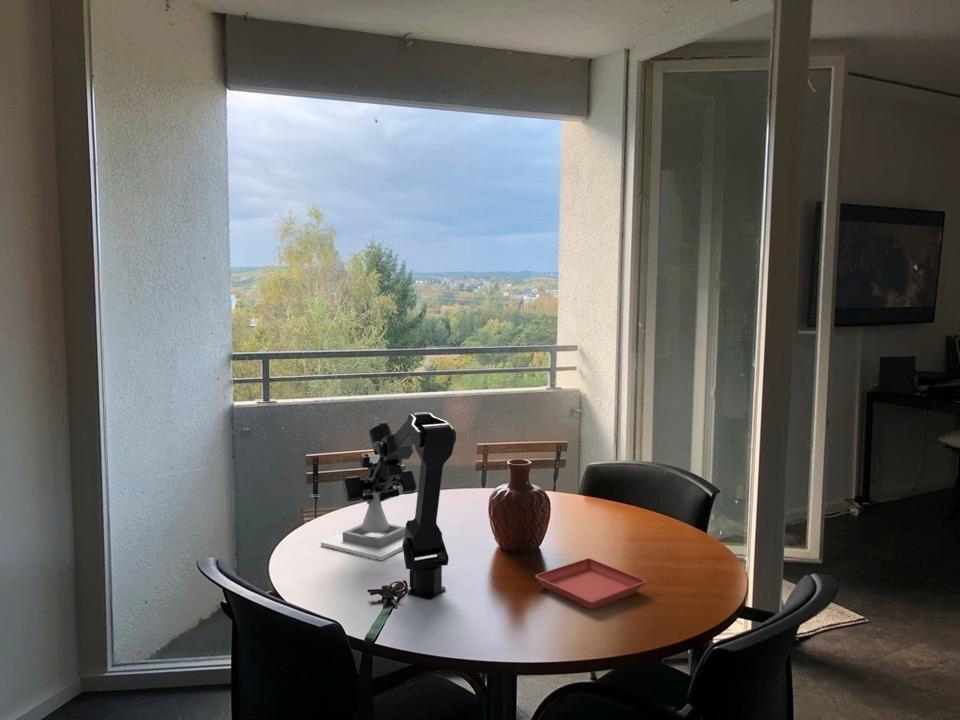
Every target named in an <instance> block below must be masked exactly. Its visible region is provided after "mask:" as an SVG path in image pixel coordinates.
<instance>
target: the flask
mask: <svg viewBox="0 0 960 720" xmlns="http://www.w3.org/2000/svg"><path fill="white" fill-rule="evenodd" d="M380 495H381V493H375V492H373V498H374V499H373V500H372V501H371V502H370V503H369V504H368V508H367V510H366V513H365V516H364V518H363V522H362V523H361V524H362V526H361V529H362V530H364V531H366V532H373V533H376V532H381V531H385V530H387V529H388V528H390V527H389V524H390V523H389V521H388V519H387V517H386V515H385V512H384V509H383V506H382V502H381V501H380Z"/></svg>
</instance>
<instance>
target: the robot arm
mask: <svg viewBox="0 0 960 720" xmlns="http://www.w3.org/2000/svg"><path fill="white" fill-rule="evenodd" d="M392 432H393V431H392V429H391V426H389V424H388V422H380V423H379V424H378V425H377V426H374V427H372V428H371V429H369V431H368V435H369V439H370V442H371V446H372V449H373V451H372V452H371V451H370V452H367V453H362V454H361V455H360V457H359V464H360V466H361V468H362V469H363V468H365V469H368V472H367V475H368V479H367V478H366V479H361V477H360V476H359V475H353V476H345V477H344V479H343V481H342V487H343V491H344V497H345V499H346V501H347V502H349V503H350V502H358V501H361V500H362V501H364V502H365V501H366V504H367V505H369V503H370V502H371V501H372V500H373V499H374V498H373V492H375V493H381V495H380V501H381V503H382V502H385V501H387V500H390V499H393V498H395V497H396V498H397V497H400V491H399V490H400V489H399V488H400V486H401V487H402V494H403V495H410V494H415V493H416V491H417V497H416V503H415V505H416V507H415V516H414V519H409V520H407V521H406V523H405V527H406V531H405V535H404V536H405V538H404V540H403V545H402V548H403V550H402V551H403V552H402V553H403V559H404V560H403V561H404V564H405V569H406V570H409V589H407V590H406V594H408V595H412V596H415V597H420V598H423V599H426V600H432V599H433V598H435V597H437V596H439V595H440V594H442V592H445V591H446V589H447V588H446V586H443V579H442V578H443V576H442V575H443V572H442V570H443V569H442V568H443V566H448V565H449V561H450V560H449V558H450V557H449V554H448V552H447V551H448V550H447V549H446V545H445V542H444V539H443V533H442V530H441V529H440V527H439V525H438V524H437V520H438V519H437V518H438V514H439V513H438V512H439V503H440V495H441V494H440V493H441V488H442V480H443V479H442V477H443V470H444V466H445V464H446V463H447V462H448V460H449V459H450V457H452V455H453V452H454V447H455V443H456V441H457V432H456V430H455V428H454V427H453V426H452V425H451V424H450V423H449V422H448V421H447V420H445V419H441V418H439V417H438V416H437V417H436V416H434V414H433V413H431V412H429V411H422V412H411V413H409V414H408V415H407V419H406V420H405V422H404V423H403V424H402V425H401V426H400V428H399V429H398V430H397V431H396V432H395V433H392ZM414 449H415V451H416V452H417V455H418V456H419V459H420V468H419V469H420V470H419V478H418V479H419V480H418V484H417V482H416V481H417V480H416V477H415V475H414V474H415V473H414V472H413V471H412V469H404V470H403V468H402V465H403V461H404V460H409V459H410V458H411V456H412V455H413V453H414ZM398 477H399V478H398ZM435 555H436V556H435ZM428 556H430V557H428ZM423 557H426V558H423ZM417 558H420V559H417Z"/></svg>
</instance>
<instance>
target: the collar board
mask: <svg viewBox="0 0 960 720" xmlns="http://www.w3.org/2000/svg"><path fill="white" fill-rule="evenodd" d="M388 524H389V527H390V528H388V529H387V530H385V531H381V532H376V533H373V532H366V531H364V530H362V529H361V526H362V523H360V524H358V525H356V526H354V527H352V528H349V529H347V530H344V531H343V532H341V533H339V534H337V535H334V536H332V537H329V538H327V539H325V540H323V541H321V542H320V546H321V547H323V546H324V548H327V547H329V549H331V548H334V549H333V550H336V549H338V550H337V551H340V550H342V551H341V552H344V551H347V552H346V553H348V552H351V553H350V554H352V553H355V554H354V555H356V554H359V555H358V556H360V555H362V556H361V557H364V556H366V557H365V558H368V557H370V558H369V559H372V558H374V559H373V560H376V559H378V560H377V561H380V560H382V561H384V560H386V559H388V558H390V557H391V555H392V556H394V555H396V554H398V553H399V552H402V551H403V548H402V545H403V540H404V538H405V536H404V535H405V531H406V526H401V525H396V524H391V523H388ZM397 552H398V553H397ZM395 553H396V554H395ZM393 554H394V555H393ZM389 556H390V557H389ZM387 557H388V558H387ZM385 558H386V559H385ZM383 559H384V560H383Z"/></svg>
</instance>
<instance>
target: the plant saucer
mask: <svg viewBox="0 0 960 720" xmlns="http://www.w3.org/2000/svg"><path fill="white" fill-rule="evenodd" d="M534 577H535V579H537V580H538V582H539V583H540V584H541V585H542V586H543V587H544V588H545V589H546V590H549V591H550V592H553V593H555V594H557V595H559V596H561V597H563V598H565V599H567V600H570V601H571V602H573V603H575V604H578V605H580V606H582V607H583V608H586V609H588V610H595V609H597V608H600V607H602V606H604V605H607V604H611V603H614V602H615V601H617V600H620V599H623V598H625V597H628V596H631V595H633V594H635V593H636V592H638V590H640V589H641V588H642V587H643V586H644V585H645V584H646V582H647V581H646V579H643V578H640V577H638V576H635V575H633V574H631V573H628V572H626V571H623V570H621V569H618V568H616V567H613V566H611V565H608V564H606V563H603V562H601V561H599V560H595V559H594V558H591V557H589V558H584V559H581V560H578V561H575V562H571V563H568V564H565V565H562V566H559V567H557V568H553V569H550V570H546V571H544V572H540V573H538V574H535V576H534Z"/></svg>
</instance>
